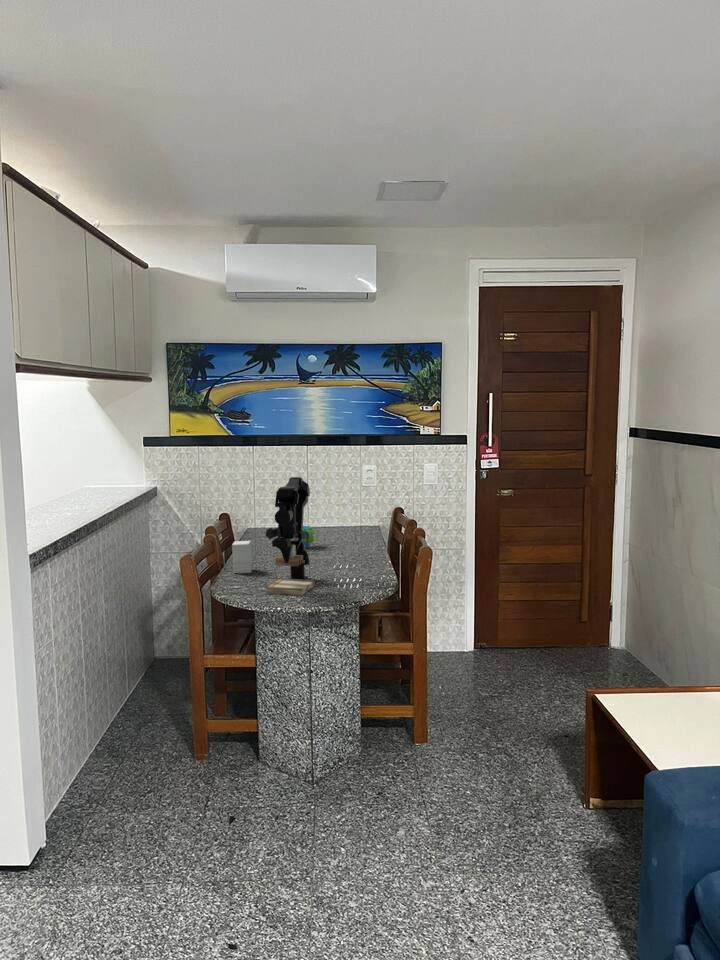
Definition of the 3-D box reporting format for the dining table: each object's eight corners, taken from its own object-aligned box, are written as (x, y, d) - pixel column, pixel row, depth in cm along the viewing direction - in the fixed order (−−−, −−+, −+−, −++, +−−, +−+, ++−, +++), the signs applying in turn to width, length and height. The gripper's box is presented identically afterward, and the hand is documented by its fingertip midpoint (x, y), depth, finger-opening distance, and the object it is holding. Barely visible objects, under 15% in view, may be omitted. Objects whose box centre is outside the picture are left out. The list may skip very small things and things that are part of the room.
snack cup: (283, 547, 351) (282, 527, 350) (301, 544, 358) (300, 524, 356) (301, 552, 339) (301, 531, 338) (319, 548, 346) (319, 528, 344)
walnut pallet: (281, 561, 276) (281, 554, 276) (303, 562, 274) (303, 555, 273) (275, 565, 271) (275, 557, 271) (297, 566, 268) (297, 558, 268)
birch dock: (281, 583, 282) (280, 578, 282) (314, 585, 278) (314, 580, 278) (266, 593, 269) (266, 587, 268) (301, 595, 265) (301, 589, 264)
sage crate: (285, 555, 274) (285, 544, 274) (295, 555, 273) (295, 545, 273) (282, 557, 270) (282, 547, 270) (292, 557, 270) (292, 547, 269)
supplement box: (252, 569, 308) (251, 540, 306) (250, 573, 300) (249, 543, 299) (235, 569, 307) (234, 540, 306) (233, 573, 300) (231, 544, 299)
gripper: (278, 515, 281) (279, 554, 283) (258, 524, 264) (259, 565, 266) (304, 516, 278) (305, 555, 280) (286, 525, 261) (287, 566, 262)
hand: (289, 560), depth 272 cm, fingers closed on walnut pallet, 6 cm apart
